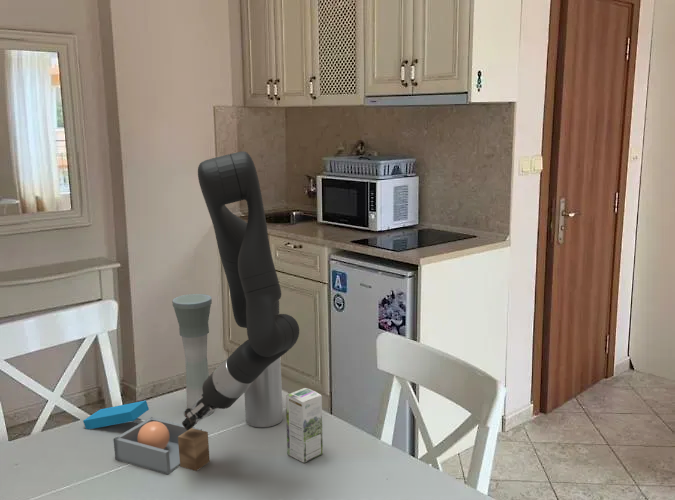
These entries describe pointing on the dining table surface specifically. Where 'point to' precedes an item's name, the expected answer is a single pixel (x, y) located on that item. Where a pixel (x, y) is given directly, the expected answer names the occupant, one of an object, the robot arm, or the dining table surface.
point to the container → (194, 340)
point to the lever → (117, 415)
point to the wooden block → (193, 449)
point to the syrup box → (304, 424)
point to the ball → (154, 435)
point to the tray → (150, 448)
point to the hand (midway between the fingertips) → (186, 425)
